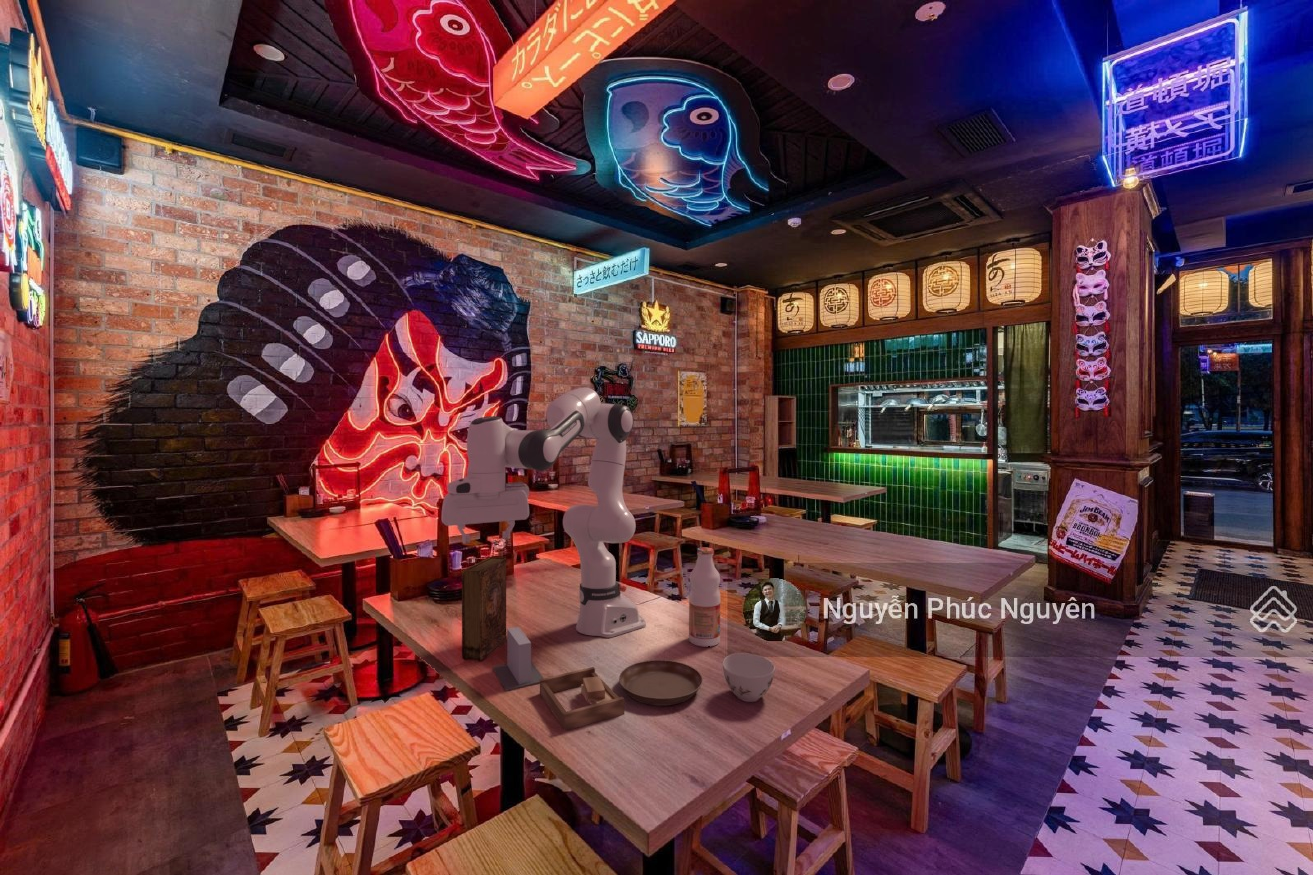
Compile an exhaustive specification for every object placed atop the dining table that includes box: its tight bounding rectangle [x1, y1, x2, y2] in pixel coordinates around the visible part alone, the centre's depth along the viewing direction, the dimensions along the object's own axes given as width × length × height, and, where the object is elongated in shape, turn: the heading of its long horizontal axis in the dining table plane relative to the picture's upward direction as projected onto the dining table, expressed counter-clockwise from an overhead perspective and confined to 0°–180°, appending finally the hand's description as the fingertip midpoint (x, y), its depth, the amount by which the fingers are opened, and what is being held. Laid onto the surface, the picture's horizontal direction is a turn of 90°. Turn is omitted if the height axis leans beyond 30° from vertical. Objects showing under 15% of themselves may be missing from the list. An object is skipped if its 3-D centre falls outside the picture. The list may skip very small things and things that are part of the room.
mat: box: [492, 660, 545, 692], centre depth 141 cm, size 10×14×1 cm
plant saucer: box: [618, 659, 704, 707], centre depth 134 cm, size 21×21×3 cm
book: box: [461, 556, 507, 662], centre depth 156 cm, size 16×6×25 cm, turn 168°
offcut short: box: [583, 675, 605, 702], centre depth 128 cm, size 4×7×2 cm, turn 16°
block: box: [506, 626, 532, 685], centre depth 140 cm, size 3×12×10 cm, turn 29°
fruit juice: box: [688, 546, 722, 648], centre depth 163 cm, size 9×9×28 cm
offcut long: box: [580, 684, 613, 705], centre depth 128 cm, size 4×10×2 cm, turn 29°
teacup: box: [722, 652, 776, 703], centre depth 131 cm, size 15×12×8 cm
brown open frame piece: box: [539, 666, 625, 732], centre depth 127 cm, size 14×18×4 cm
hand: (486, 540), depth 131 cm, fingers open, 8 cm apart
